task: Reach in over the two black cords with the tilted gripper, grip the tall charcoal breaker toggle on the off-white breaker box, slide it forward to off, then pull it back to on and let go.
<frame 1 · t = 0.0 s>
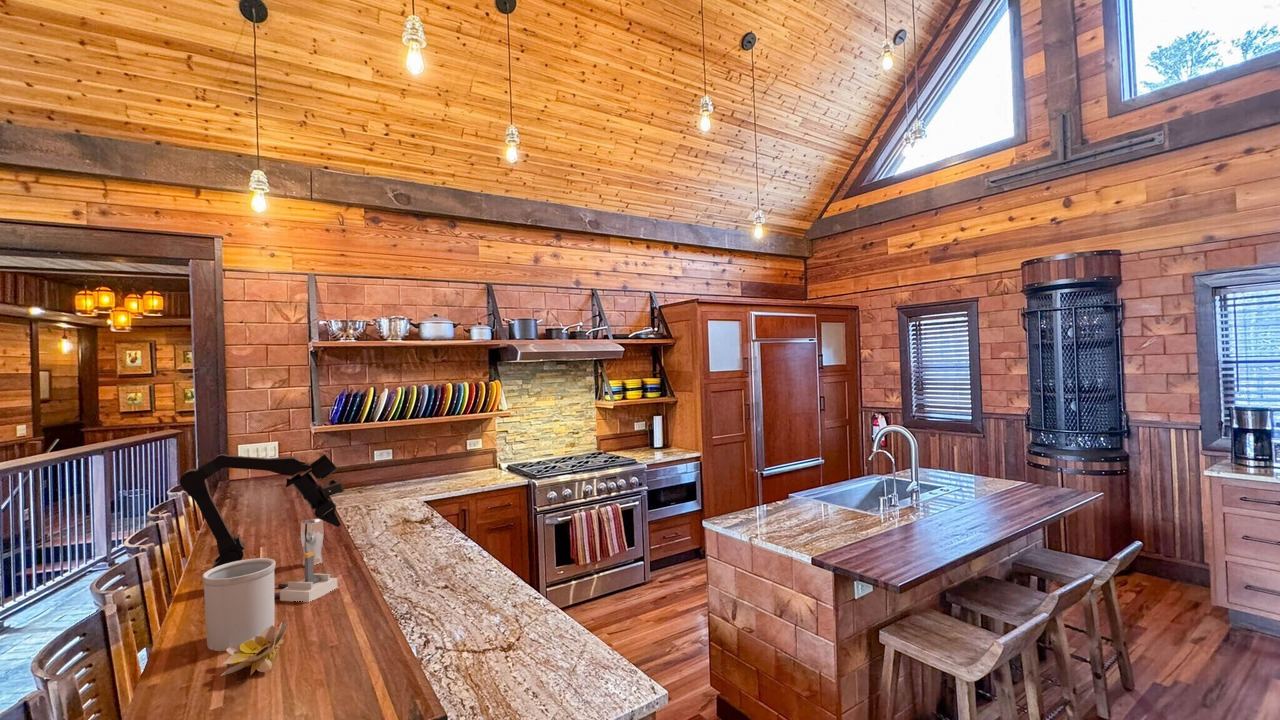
hand: (337, 523, 190), 15 cm above the countertop, tool tilted 35°, fingers open, 9 cm apart
beer glass: (312, 564, 193), on the countertop
breaker toggle: (309, 568, 165), point 8 cm above the countertop, slide at 0.0 cm
decorative flower: (256, 666, 124), on the countertop
breaker box: (309, 594, 165), on the countertop
utensil holder: (240, 639, 137), on the countertop
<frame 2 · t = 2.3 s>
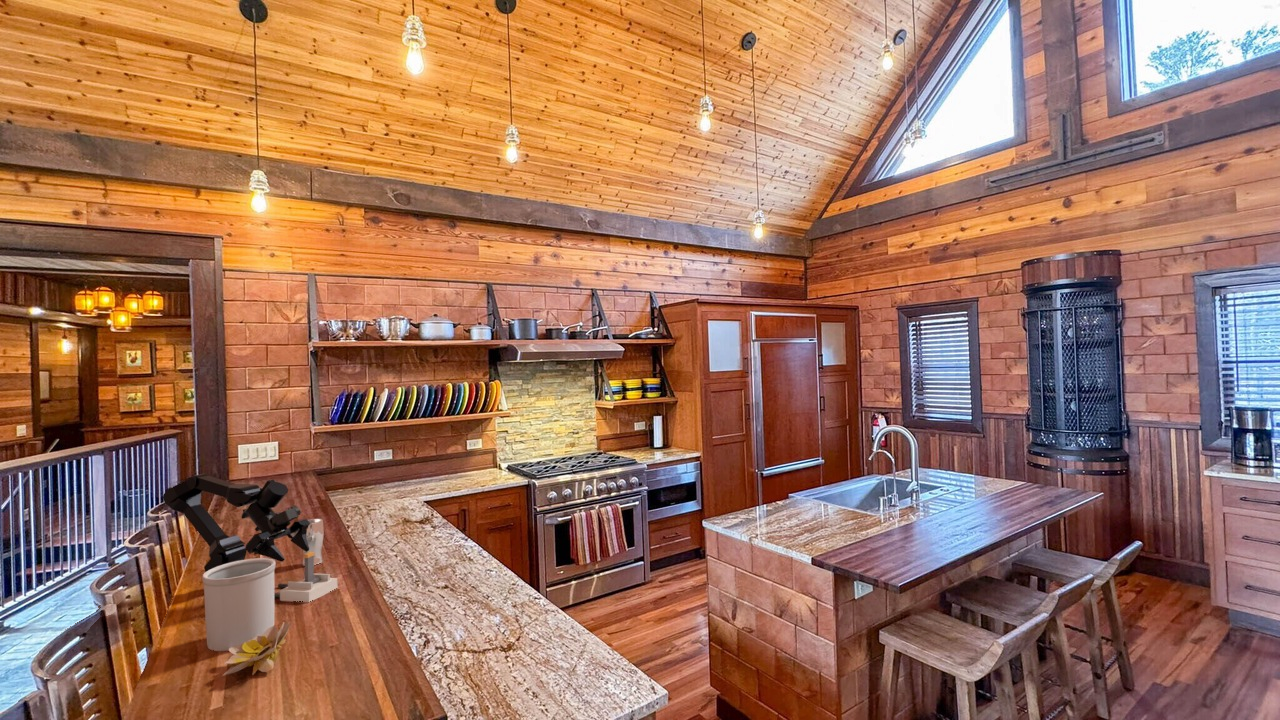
hand: (296, 555, 167), 11 cm above the countertop, tool tilted 45°, fingers open, 9 cm apart
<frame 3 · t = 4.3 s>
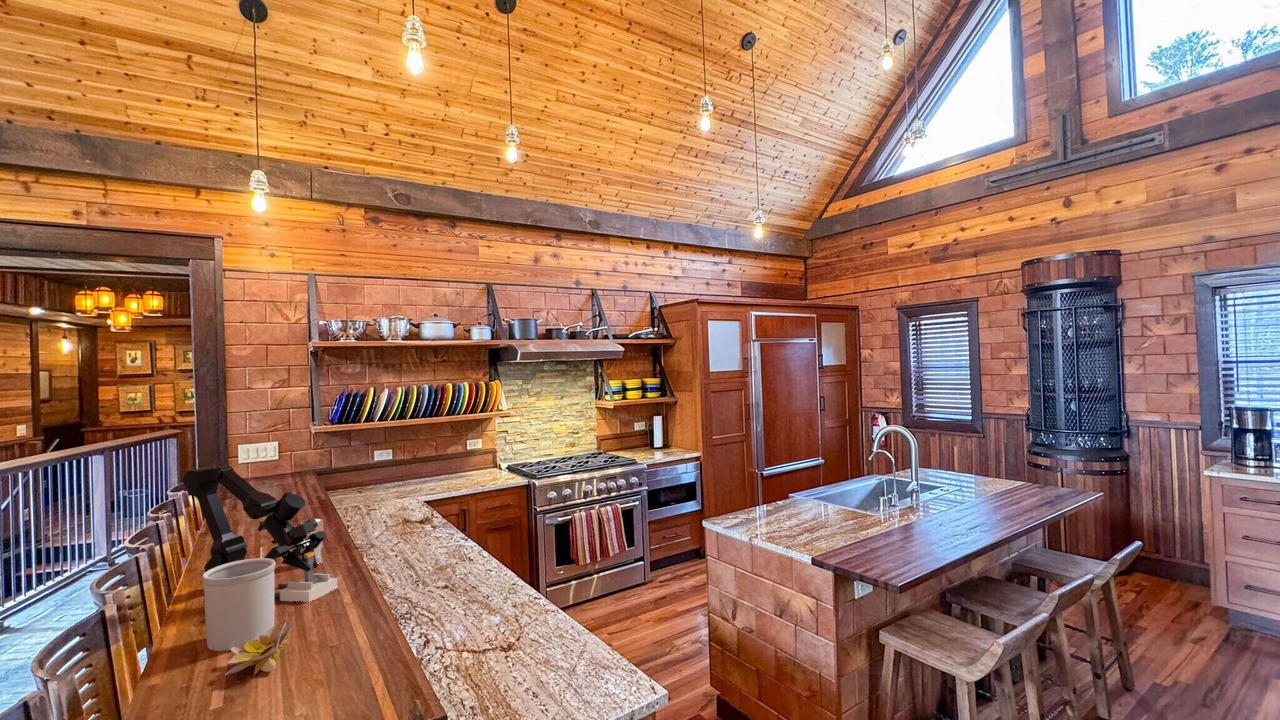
hand: (313, 568, 165), 8 cm above the countertop, tool tilted 45°, fingers closed on breaker toggle, 2 cm apart
breaker toggle: (309, 568, 165), point 8 cm above the countertop, slide at 0.0 cm, touching gripper
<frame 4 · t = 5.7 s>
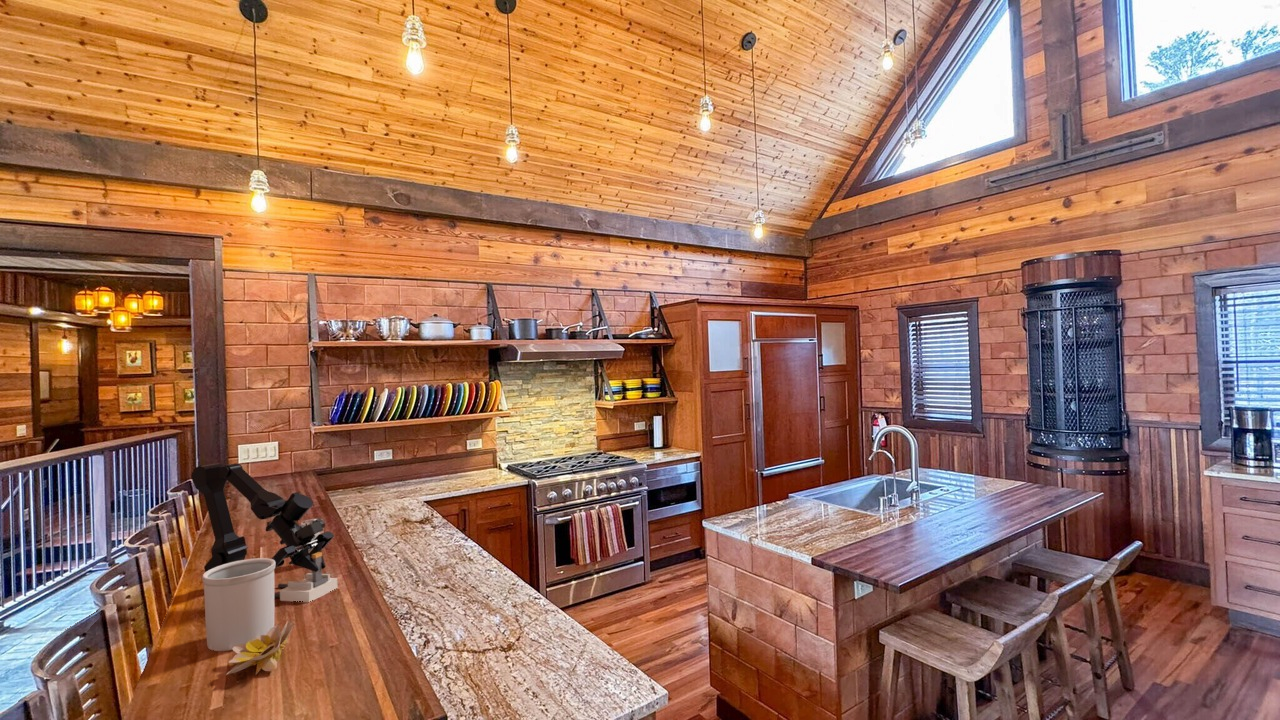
hand: (321, 569, 165), 8 cm above the countertop, tool tilted 45°, fingers closed on breaker toggle, 2 cm apart
breaker toggle: (317, 568, 165), point 8 cm above the countertop, slide at 2.7 cm, touching gripper
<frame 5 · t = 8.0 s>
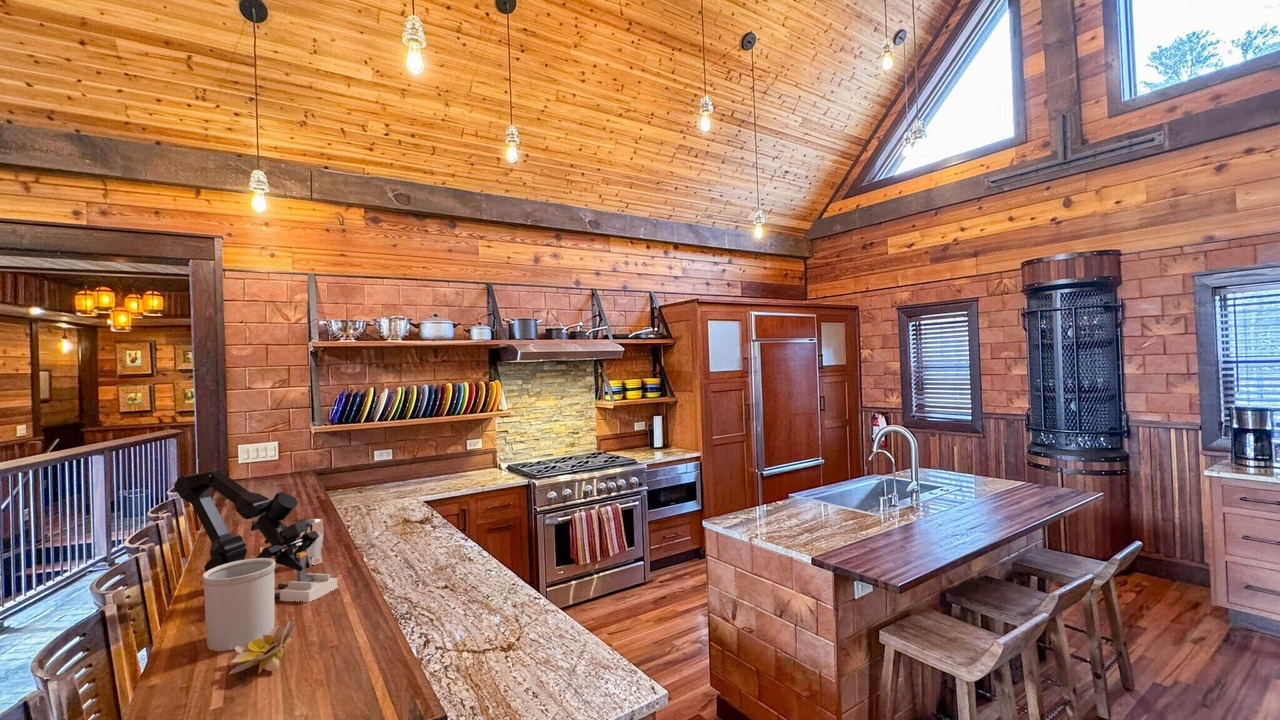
hand: (305, 568, 166), 8 cm above the countertop, tool tilted 45°, fingers closed on breaker toggle, 2 cm apart
breaker toggle: (301, 567, 166), point 8 cm above the countertop, slide at -2.7 cm, touching gripper
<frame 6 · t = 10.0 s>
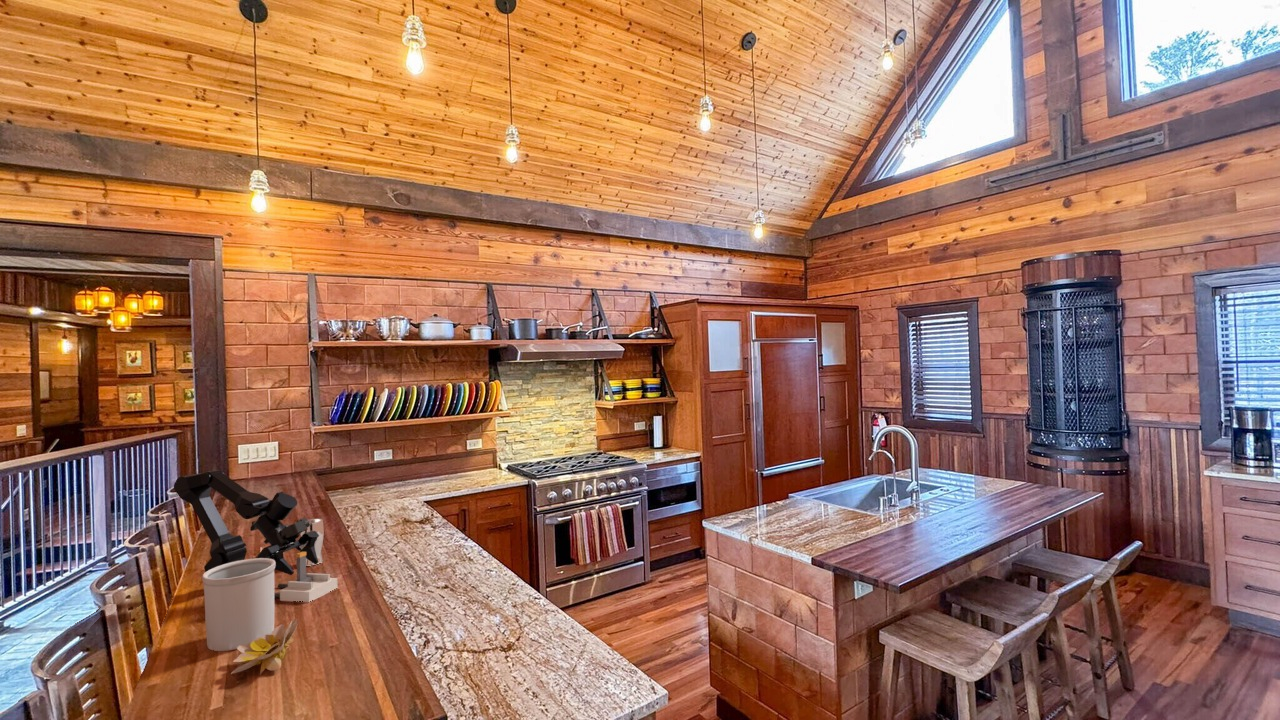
hand: (305, 568, 166), 8 cm above the countertop, tool tilted 45°, fingers open, 9 cm apart
breaker toggle: (301, 567, 166), point 8 cm above the countertop, slide at -2.8 cm
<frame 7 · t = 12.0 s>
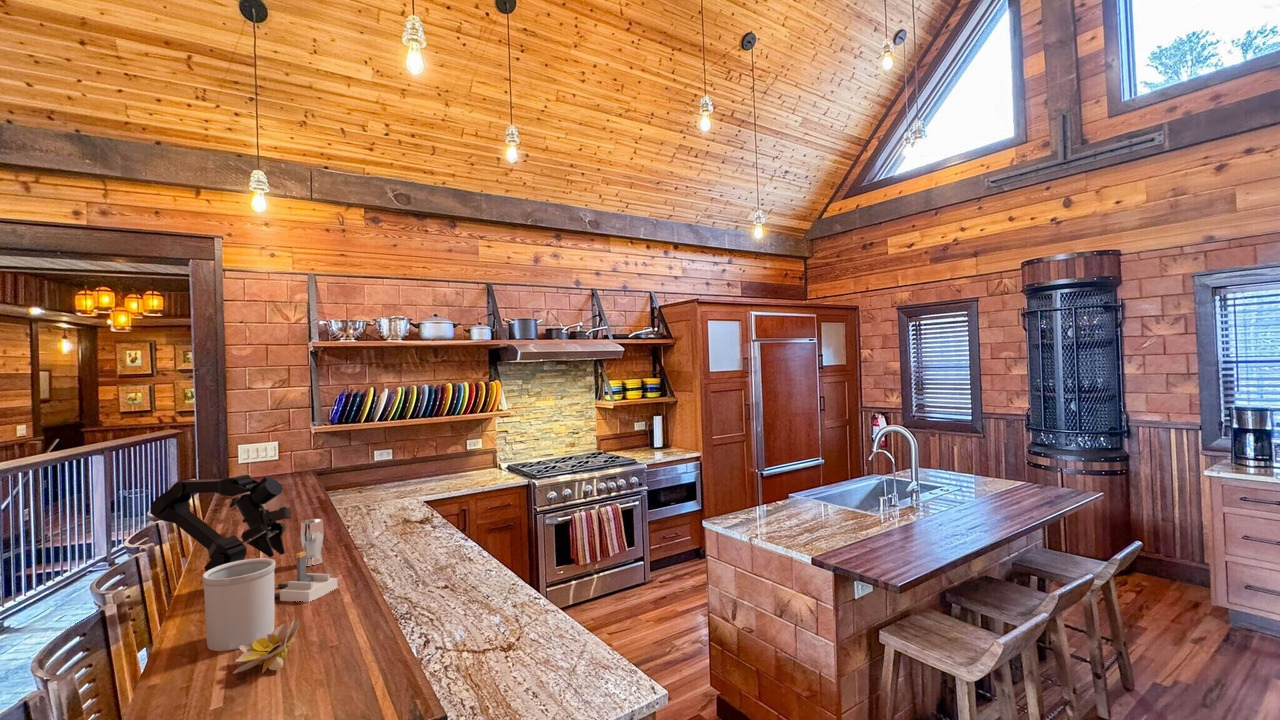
hand: (277, 555, 170), 11 cm above the countertop, tool tilted 30°, fingers open, 9 cm apart
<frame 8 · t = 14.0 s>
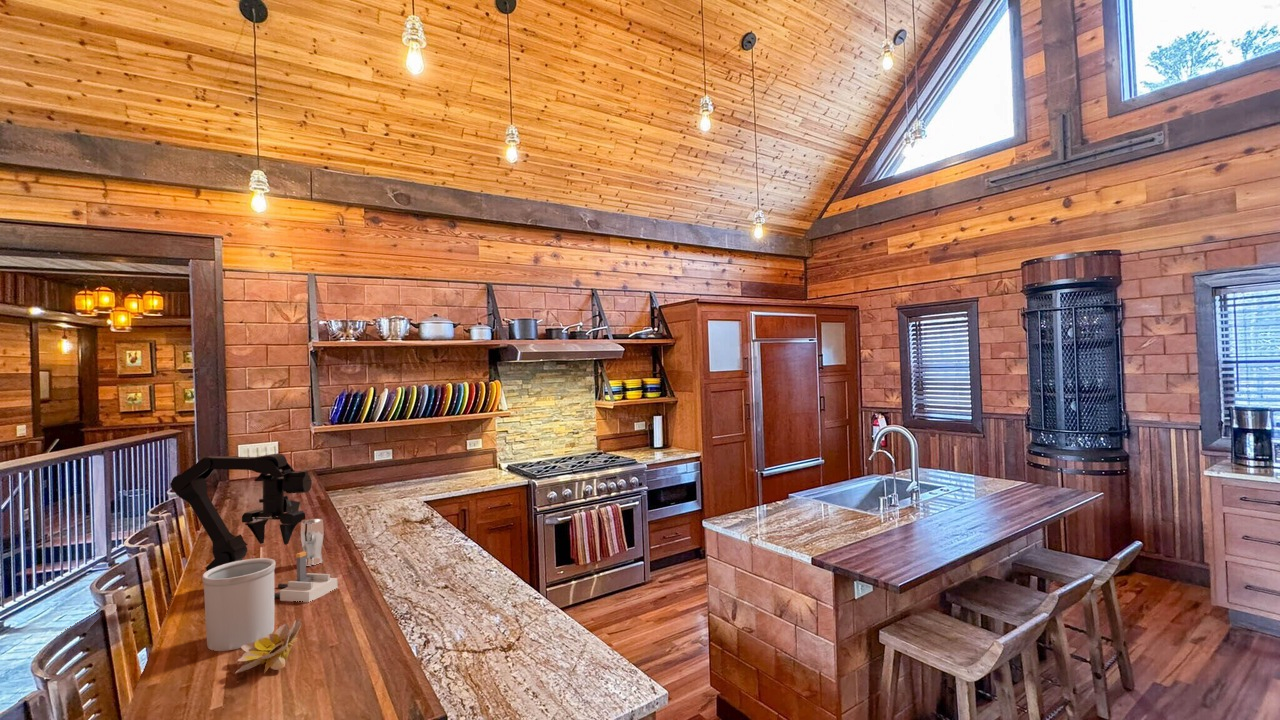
hand: (274, 543, 174), 13 cm above the countertop, tool pointing down, fingers open, 9 cm apart
at the end: breaker toggle slide at -2.8 cm; the gripper is holding nothing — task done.
